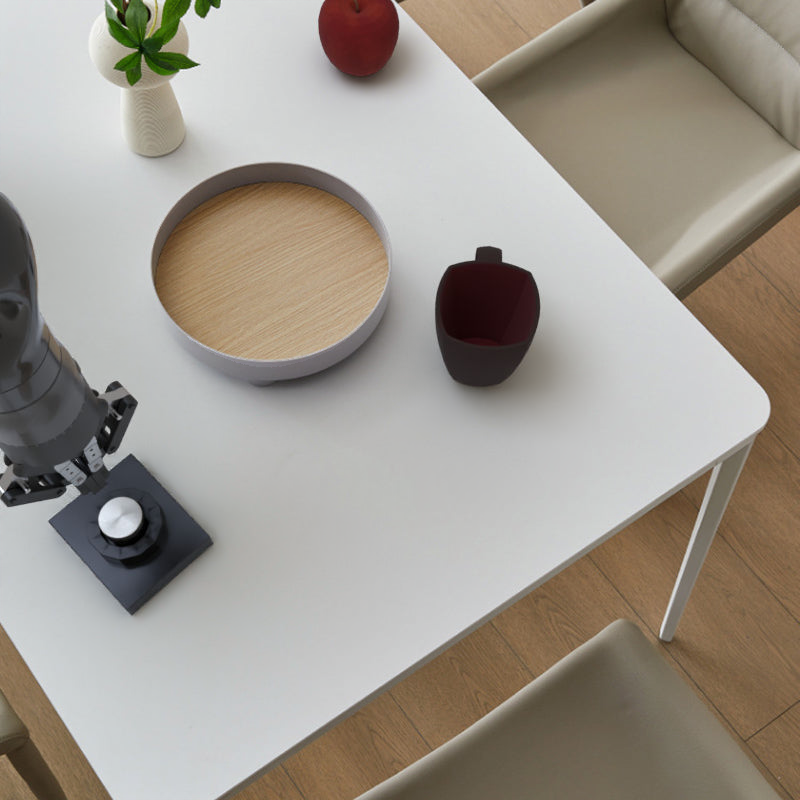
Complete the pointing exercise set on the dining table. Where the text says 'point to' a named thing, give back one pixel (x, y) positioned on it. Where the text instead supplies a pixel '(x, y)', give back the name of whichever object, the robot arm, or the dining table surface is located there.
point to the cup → (485, 318)
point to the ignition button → (122, 520)
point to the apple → (358, 34)
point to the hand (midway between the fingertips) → (93, 482)
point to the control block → (147, 556)
